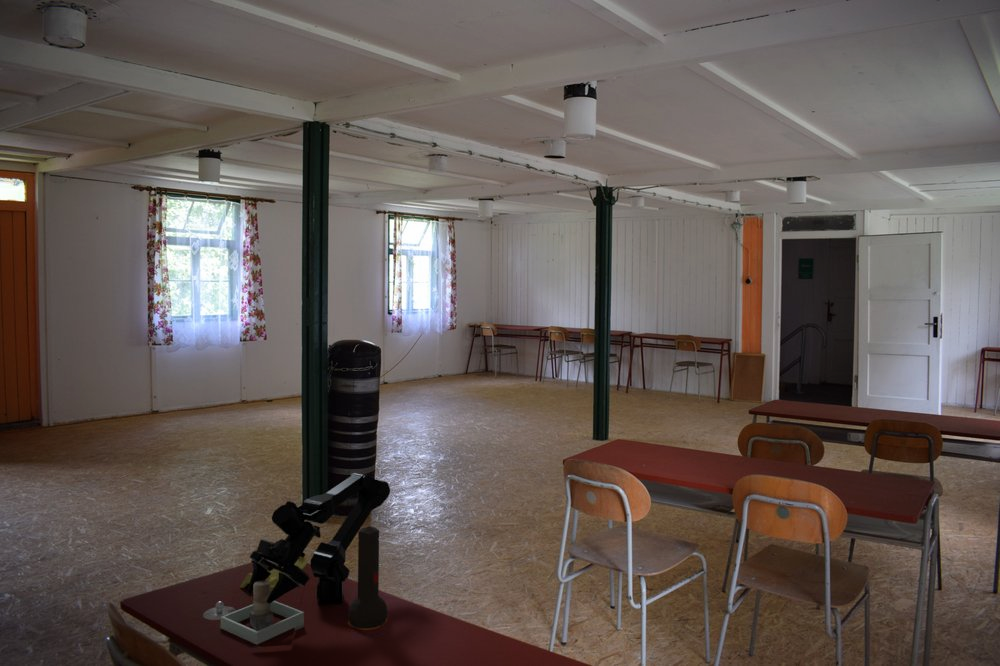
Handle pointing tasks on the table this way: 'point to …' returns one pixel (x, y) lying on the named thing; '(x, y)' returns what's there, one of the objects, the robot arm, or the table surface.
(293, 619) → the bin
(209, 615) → the stud mount
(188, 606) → the table surface
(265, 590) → the strut
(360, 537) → the flashlight
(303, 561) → the plastic component
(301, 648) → the table surface
